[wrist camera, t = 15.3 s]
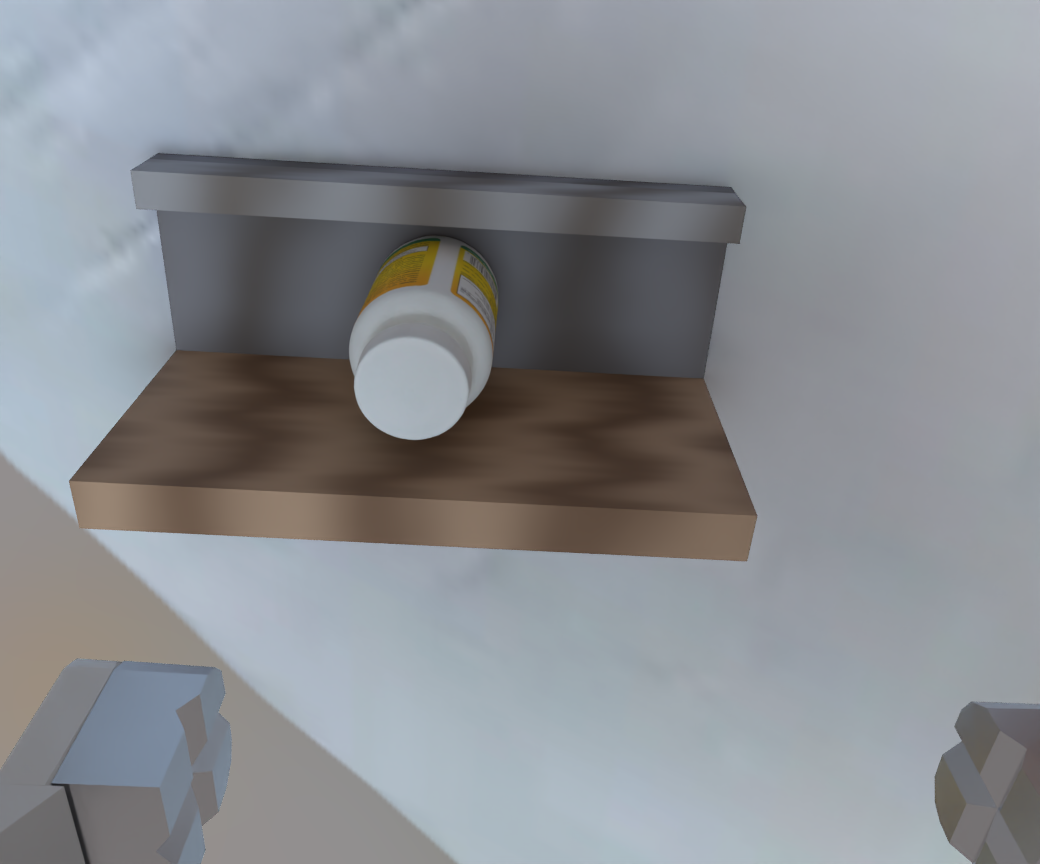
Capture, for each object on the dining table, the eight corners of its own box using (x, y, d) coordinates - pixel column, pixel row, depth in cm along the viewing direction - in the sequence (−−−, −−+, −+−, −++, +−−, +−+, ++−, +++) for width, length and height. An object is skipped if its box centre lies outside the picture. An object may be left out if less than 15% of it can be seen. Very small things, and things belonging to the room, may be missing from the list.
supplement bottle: (513, 253, 38) (510, 344, 30) (479, 362, 41) (467, 474, 33) (390, 215, 38) (352, 298, 29) (363, 329, 40) (320, 435, 32)
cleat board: (731, 187, 38) (808, 286, 28) (693, 407, 43) (746, 561, 33) (158, 153, 37) (15, 241, 27) (189, 380, 43) (79, 528, 32)
